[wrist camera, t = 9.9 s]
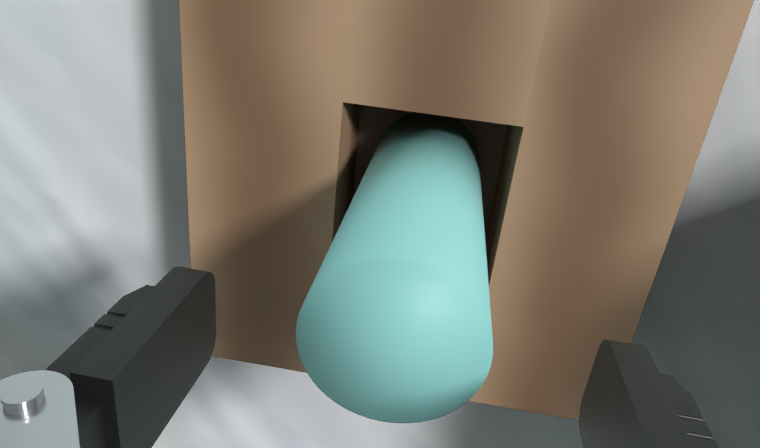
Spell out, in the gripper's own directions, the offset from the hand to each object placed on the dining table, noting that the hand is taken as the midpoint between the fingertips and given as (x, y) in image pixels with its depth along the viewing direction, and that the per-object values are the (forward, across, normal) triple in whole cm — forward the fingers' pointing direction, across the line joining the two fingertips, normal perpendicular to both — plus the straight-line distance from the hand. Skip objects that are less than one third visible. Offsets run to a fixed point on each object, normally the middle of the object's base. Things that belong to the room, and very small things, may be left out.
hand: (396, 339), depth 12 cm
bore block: (+13, 0, 0) cm, 13 cm away
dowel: (+12, 0, 0) cm, 12 cm away
